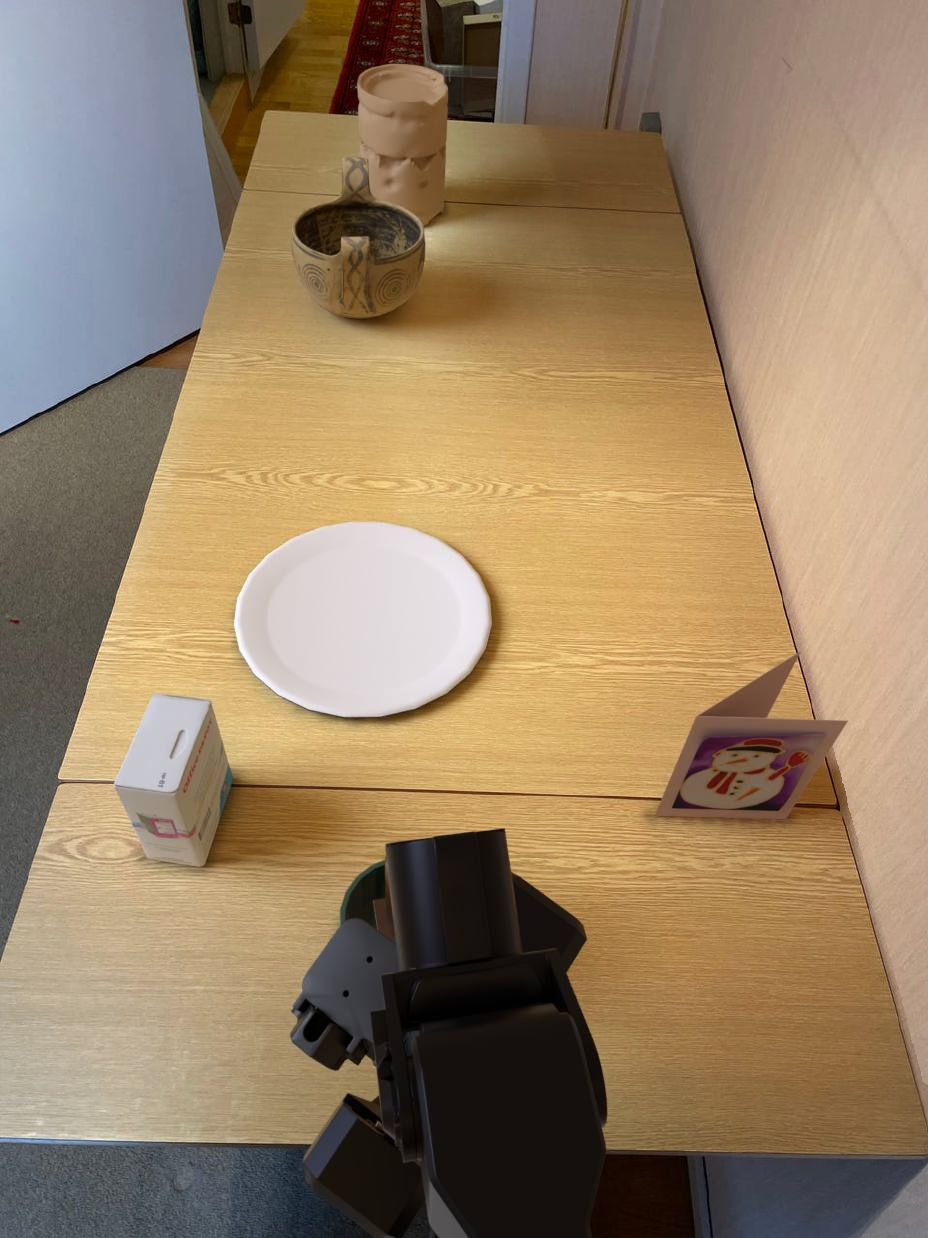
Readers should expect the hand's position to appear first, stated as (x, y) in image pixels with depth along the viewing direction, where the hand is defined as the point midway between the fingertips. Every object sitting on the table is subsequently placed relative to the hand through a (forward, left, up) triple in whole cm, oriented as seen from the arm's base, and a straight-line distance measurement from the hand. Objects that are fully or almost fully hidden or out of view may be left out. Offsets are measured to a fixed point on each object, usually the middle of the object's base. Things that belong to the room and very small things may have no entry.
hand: (435, 1030), depth 61 cm
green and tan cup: (+10, +1, -11) cm, 15 cm away
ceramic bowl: (+98, +2, -11) cm, 99 cm away
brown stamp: (+10, +1, -10) cm, 14 cm away
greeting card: (+22, -27, -11) cm, 36 cm away
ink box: (+22, +18, -11) cm, 31 cm away
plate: (+43, +3, -11) cm, 45 cm away
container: (+124, -5, -11) cm, 125 cm away
